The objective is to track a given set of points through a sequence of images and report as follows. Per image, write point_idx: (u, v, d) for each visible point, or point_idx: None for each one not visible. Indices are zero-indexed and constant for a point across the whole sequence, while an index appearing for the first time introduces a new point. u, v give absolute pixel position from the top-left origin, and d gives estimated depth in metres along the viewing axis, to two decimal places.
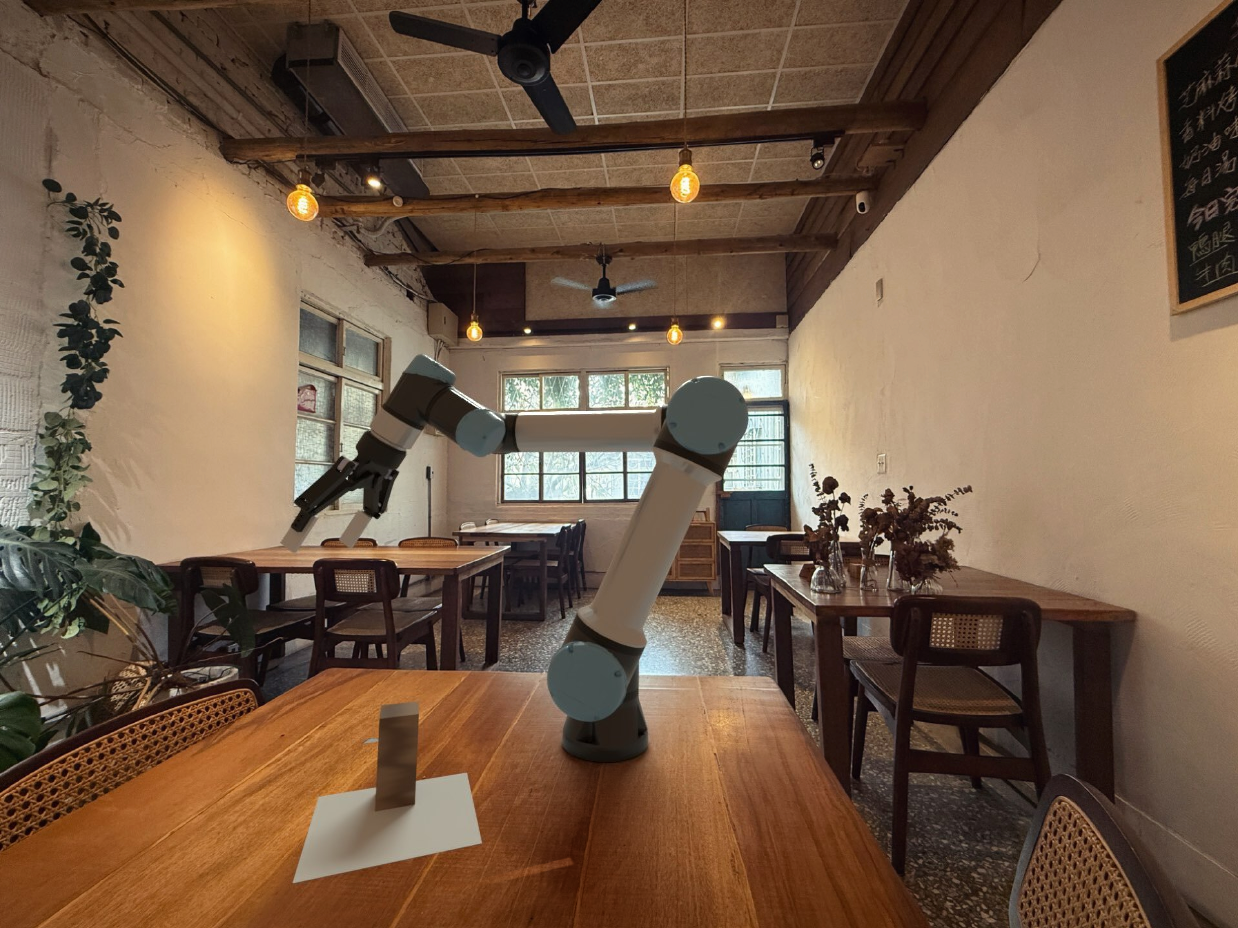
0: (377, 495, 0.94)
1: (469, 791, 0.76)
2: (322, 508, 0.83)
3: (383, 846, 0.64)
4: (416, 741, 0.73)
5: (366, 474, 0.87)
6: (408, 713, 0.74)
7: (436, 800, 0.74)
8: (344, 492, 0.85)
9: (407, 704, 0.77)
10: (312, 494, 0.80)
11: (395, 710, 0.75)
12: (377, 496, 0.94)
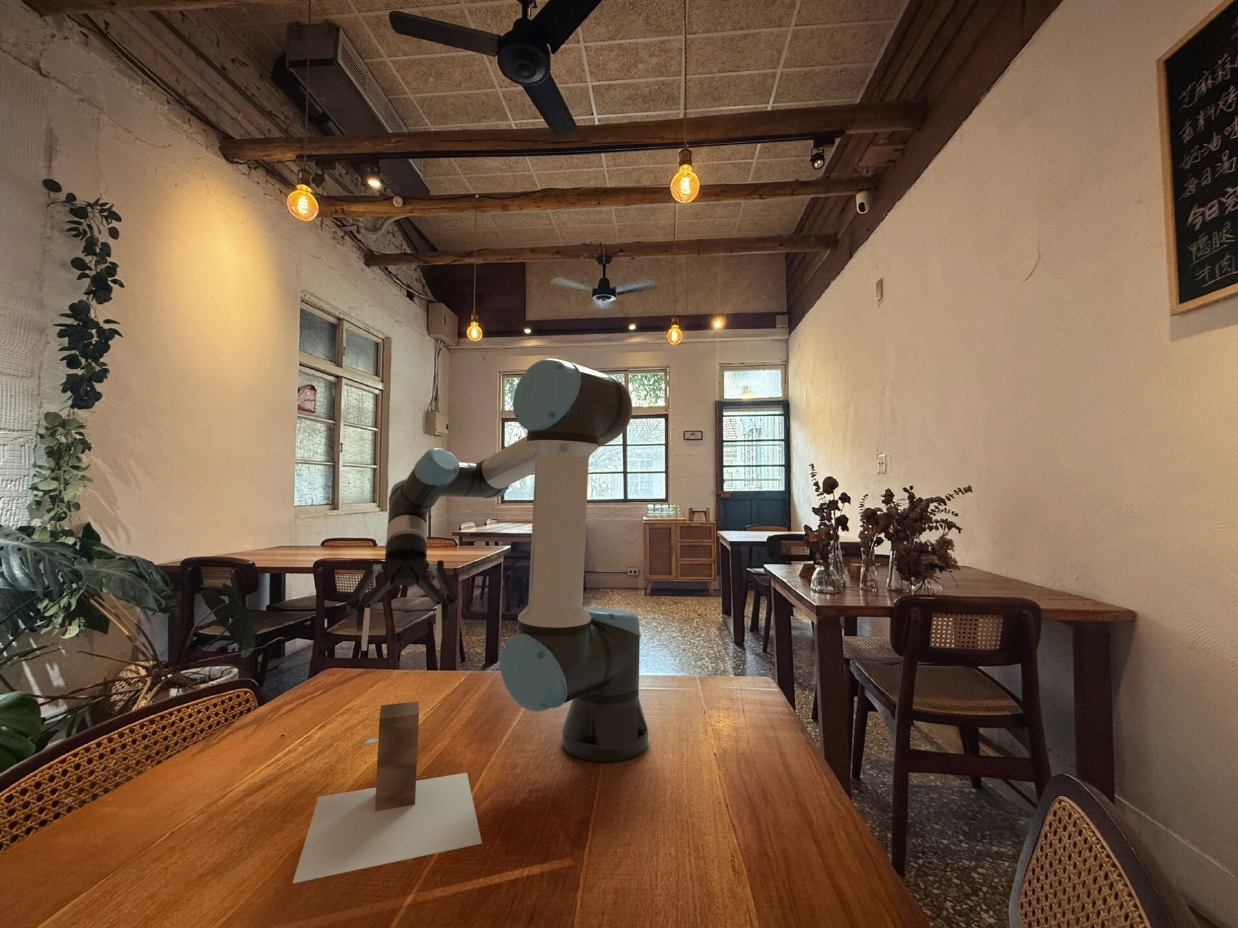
0: (429, 582, 0.99)
1: (469, 791, 0.76)
2: (367, 600, 0.93)
3: (383, 846, 0.64)
4: (416, 741, 0.73)
5: None
6: (408, 713, 0.74)
7: (436, 800, 0.74)
8: (382, 583, 0.96)
9: (407, 704, 0.77)
10: None
11: (395, 710, 0.75)
12: (430, 583, 0.99)
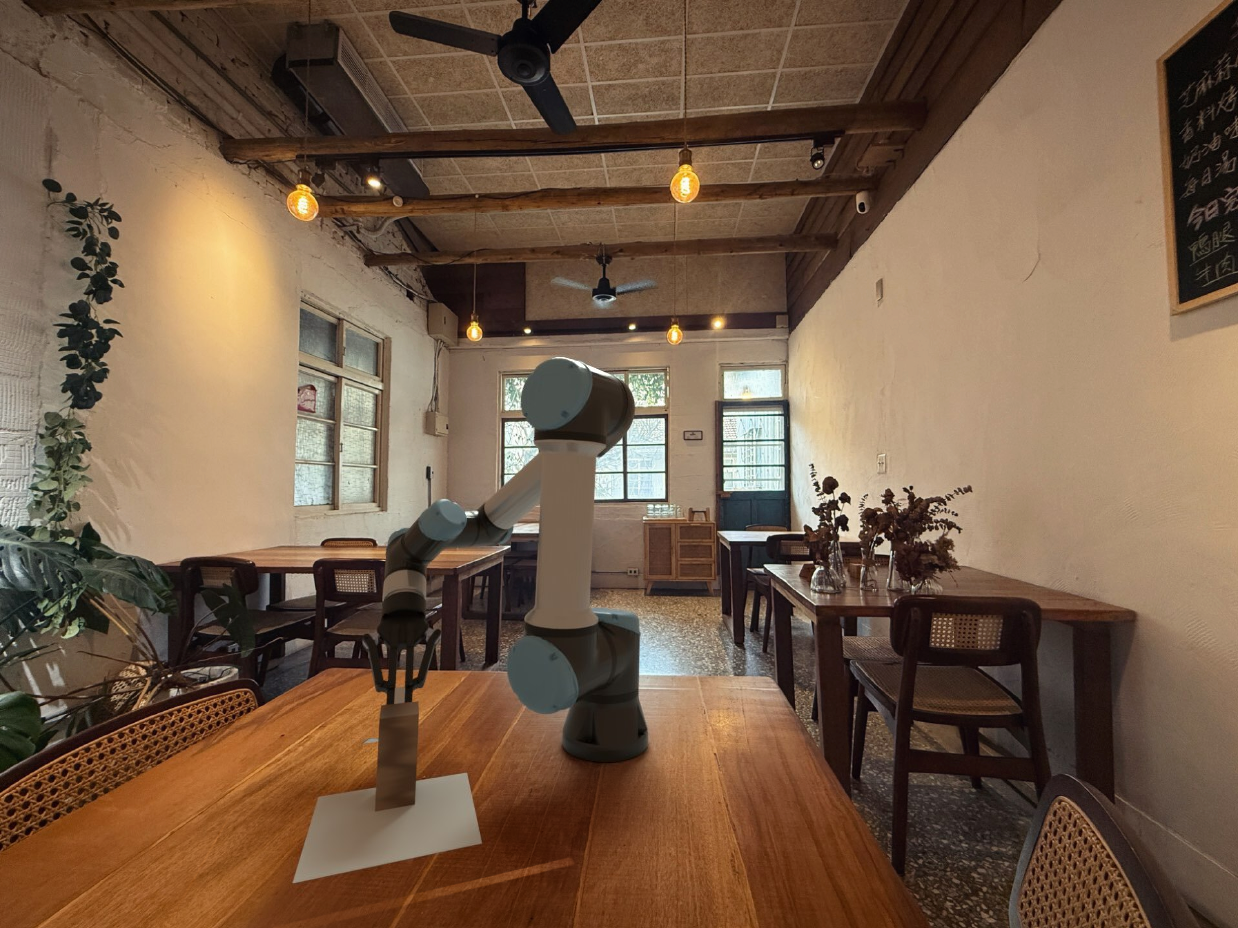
0: (411, 654, 0.90)
1: (469, 791, 0.76)
2: (393, 676, 0.86)
3: (383, 846, 0.64)
4: (416, 741, 0.73)
5: (391, 630, 0.92)
6: (408, 713, 0.74)
7: (436, 800, 0.74)
8: (394, 653, 0.89)
9: (407, 704, 0.77)
10: (373, 675, 0.87)
11: (395, 710, 0.75)
12: (411, 656, 0.90)
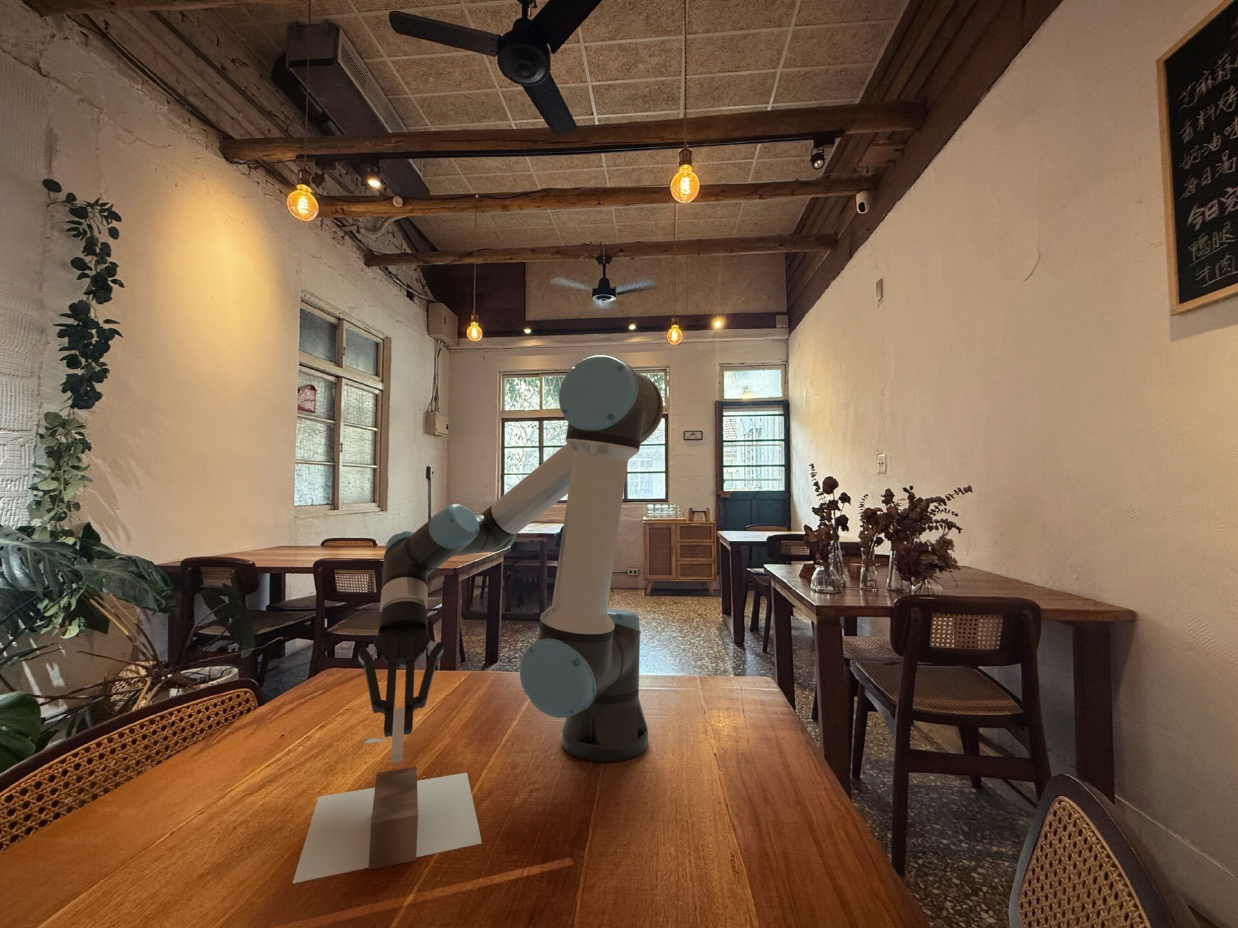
0: (411, 670, 0.82)
1: (469, 791, 0.76)
2: (391, 695, 0.78)
3: None
4: None
5: (389, 644, 0.84)
6: (403, 857, 0.61)
7: (436, 800, 0.74)
8: (393, 669, 0.81)
9: (404, 823, 0.61)
10: (370, 694, 0.79)
11: (388, 843, 0.61)
12: (411, 672, 0.82)
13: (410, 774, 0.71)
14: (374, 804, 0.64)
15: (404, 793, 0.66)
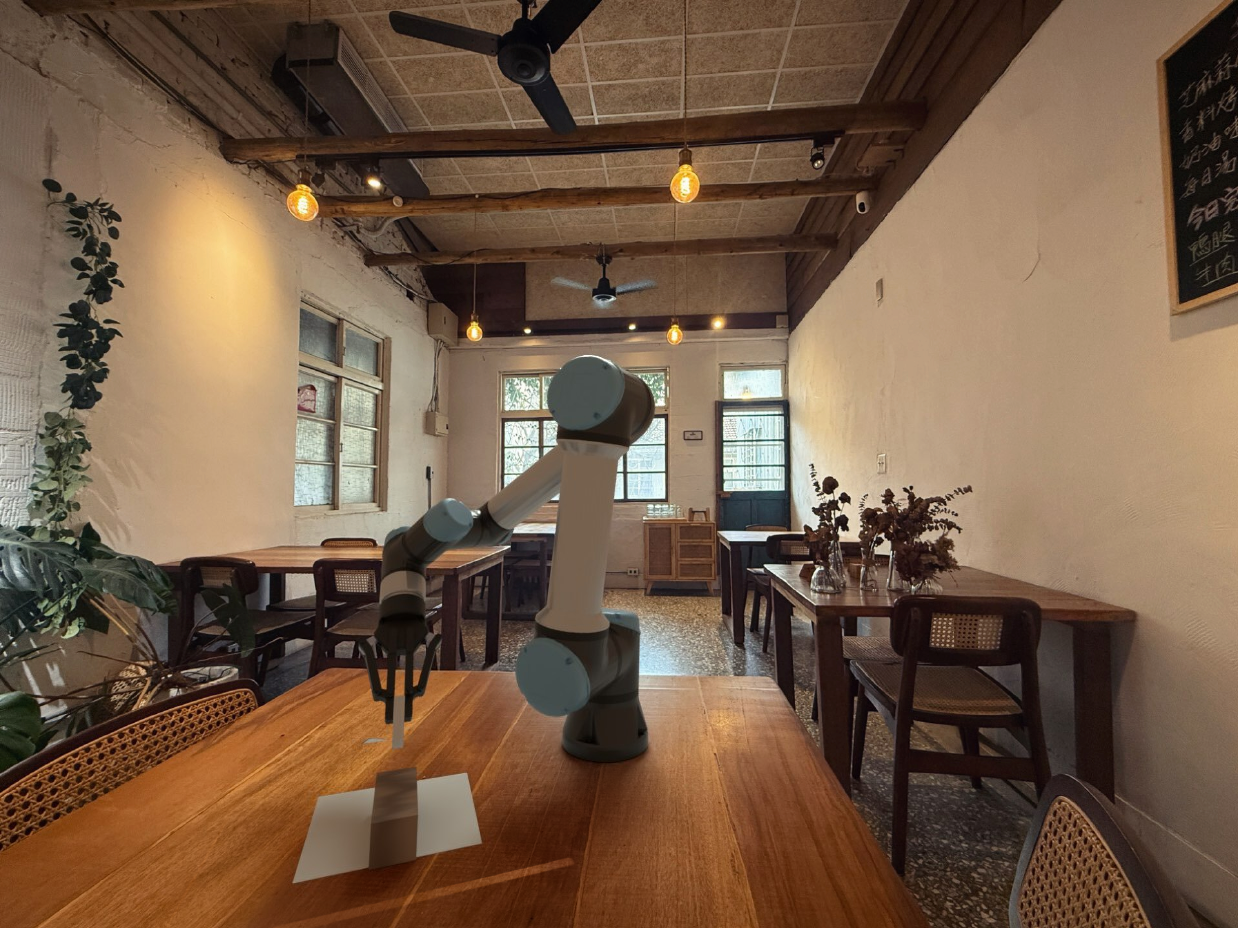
0: (411, 660, 0.85)
1: (469, 791, 0.76)
2: (392, 684, 0.81)
3: None
4: None
5: (389, 635, 0.86)
6: (403, 857, 0.61)
7: (436, 800, 0.74)
8: (393, 659, 0.84)
9: (404, 823, 0.61)
10: (370, 683, 0.81)
11: (388, 843, 0.61)
12: (411, 662, 0.84)
13: (410, 774, 0.71)
14: (374, 804, 0.64)
15: (404, 793, 0.66)
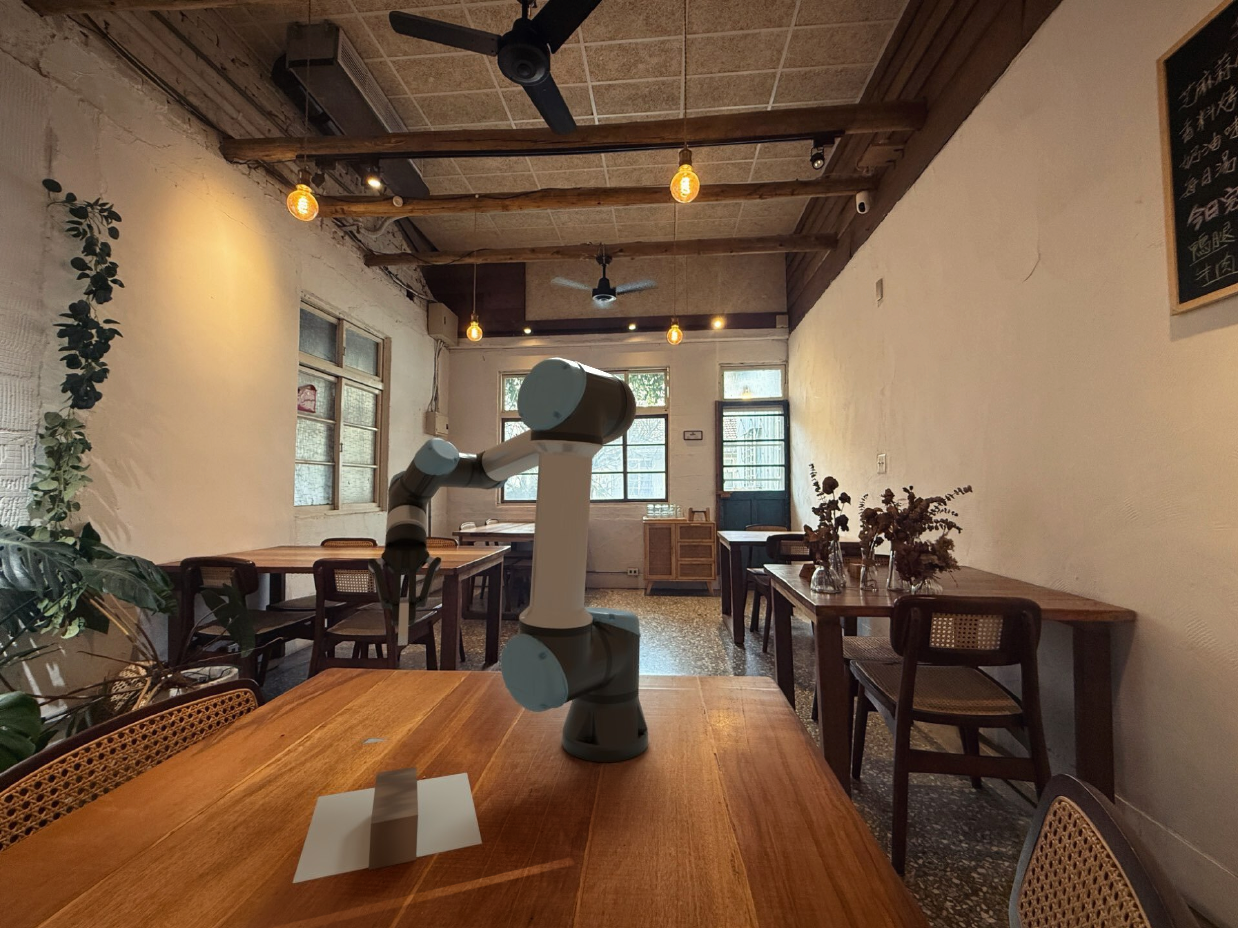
0: (414, 577, 0.97)
1: (469, 791, 0.76)
2: (397, 594, 0.93)
3: None
4: None
5: (394, 556, 0.99)
6: (403, 857, 0.61)
7: (436, 800, 0.74)
8: (398, 575, 0.96)
9: (404, 823, 0.61)
10: (379, 593, 0.94)
11: (388, 843, 0.61)
12: (414, 578, 0.97)
13: (410, 774, 0.71)
14: (374, 804, 0.64)
15: (404, 793, 0.66)
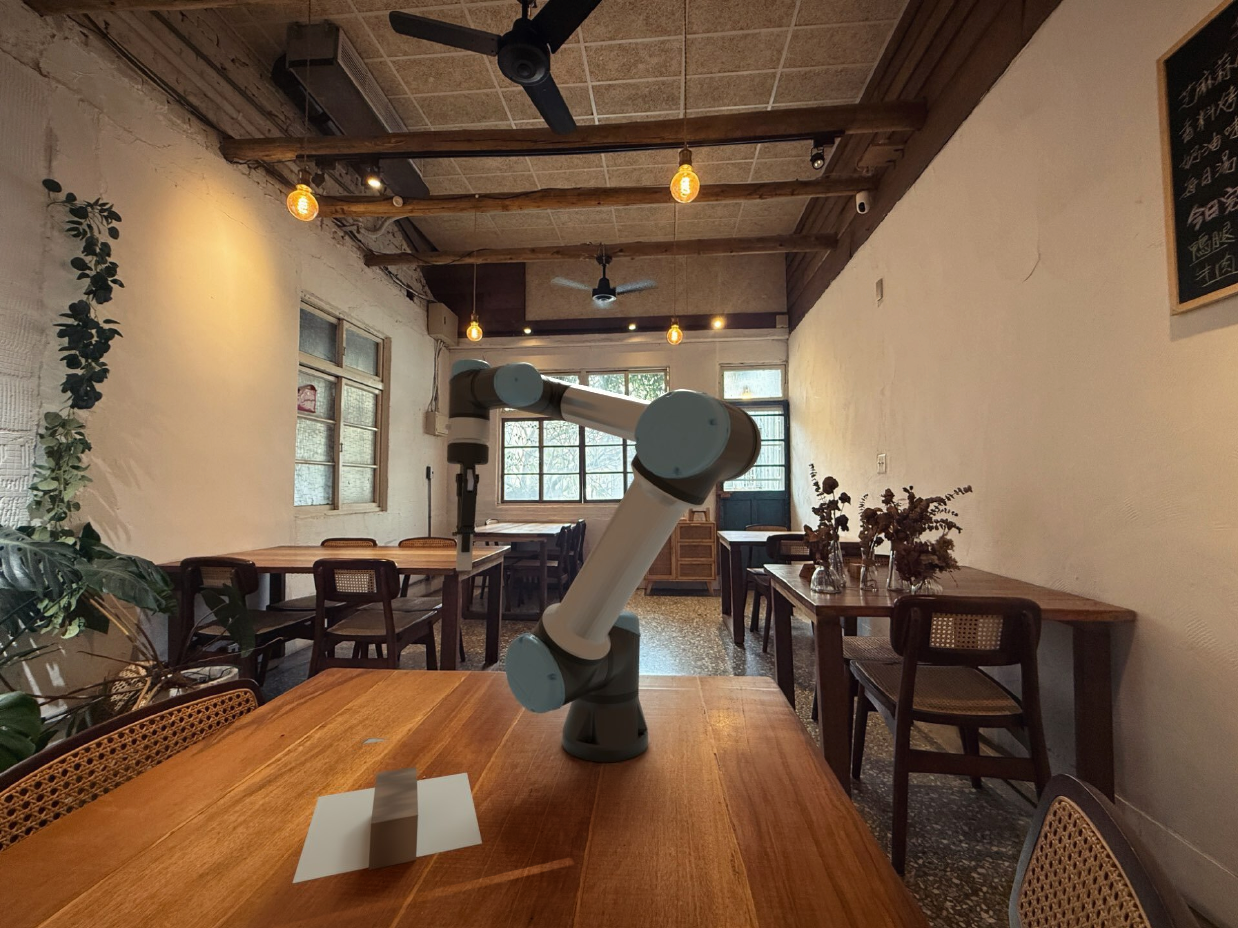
0: None
1: (469, 791, 0.76)
2: None
3: None
4: None
5: (476, 479, 0.99)
6: (403, 857, 0.61)
7: (436, 800, 0.74)
8: None
9: (404, 823, 0.61)
10: (468, 518, 0.95)
11: (388, 843, 0.61)
12: None
13: (410, 774, 0.71)
14: (374, 804, 0.64)
15: (404, 793, 0.66)
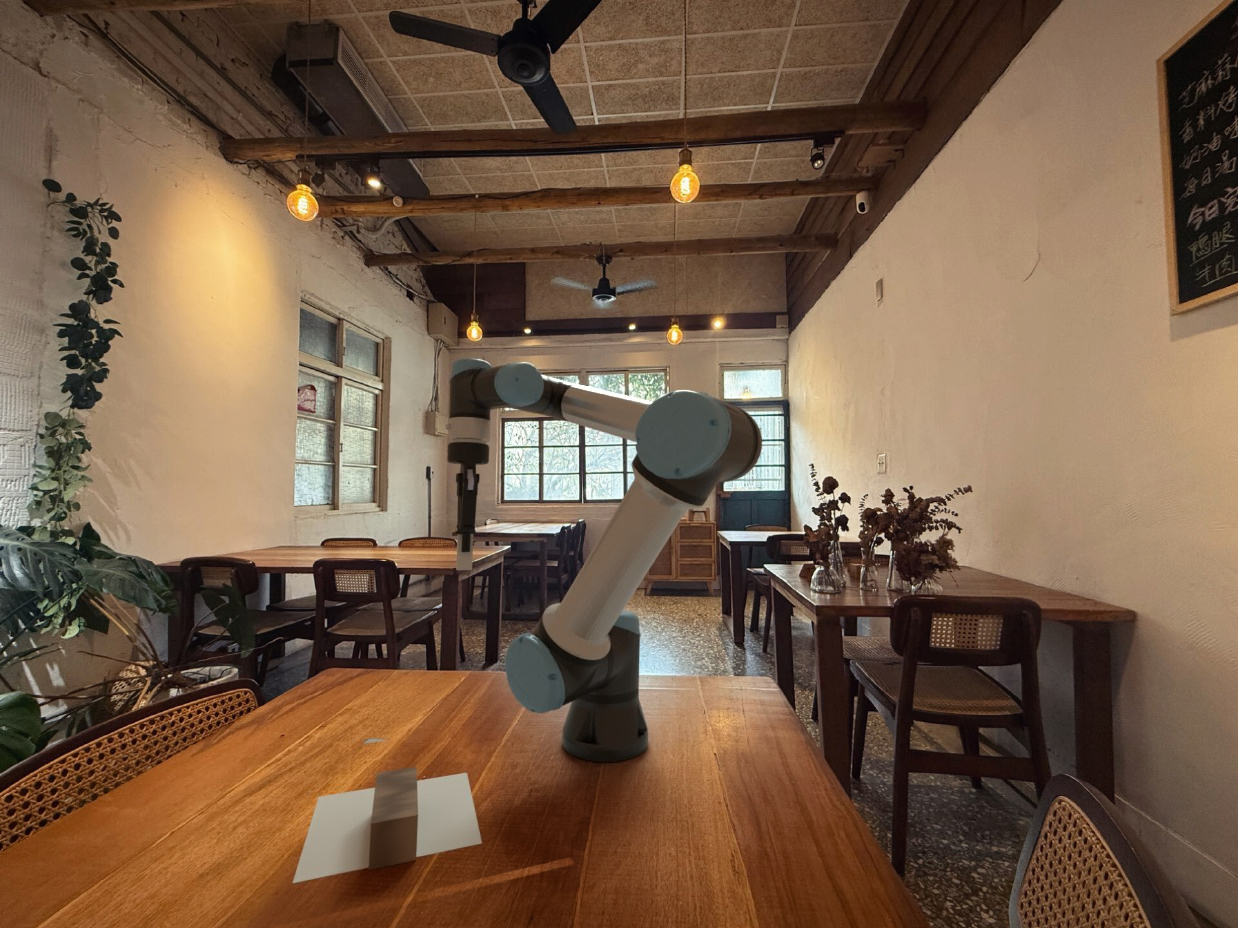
0: None
1: (469, 791, 0.76)
2: None
3: None
4: None
5: (476, 479, 0.98)
6: (403, 857, 0.61)
7: (436, 800, 0.74)
8: None
9: (404, 823, 0.61)
10: (469, 518, 0.95)
11: (388, 843, 0.61)
12: None
13: (410, 774, 0.71)
14: (374, 804, 0.64)
15: (404, 793, 0.66)
